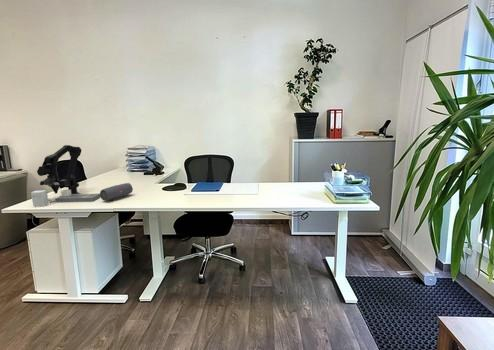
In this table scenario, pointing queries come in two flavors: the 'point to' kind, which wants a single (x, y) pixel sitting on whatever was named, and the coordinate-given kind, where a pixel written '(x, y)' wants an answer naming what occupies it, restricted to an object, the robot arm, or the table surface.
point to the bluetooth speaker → (116, 191)
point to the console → (78, 198)
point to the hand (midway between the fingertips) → (56, 193)
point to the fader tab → (66, 193)
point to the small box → (40, 198)
